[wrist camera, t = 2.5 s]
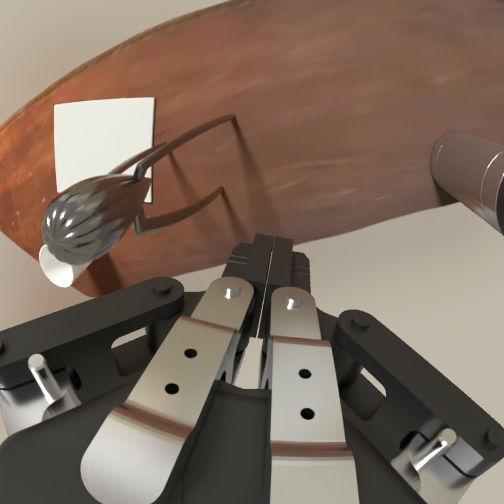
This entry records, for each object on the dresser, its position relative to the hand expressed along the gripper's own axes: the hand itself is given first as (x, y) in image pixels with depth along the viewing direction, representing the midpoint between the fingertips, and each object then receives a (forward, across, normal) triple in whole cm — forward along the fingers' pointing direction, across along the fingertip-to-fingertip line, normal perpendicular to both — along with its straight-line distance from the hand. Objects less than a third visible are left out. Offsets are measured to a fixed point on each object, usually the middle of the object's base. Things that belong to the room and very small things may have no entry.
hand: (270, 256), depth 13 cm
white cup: (+30, +34, +19) cm, 49 cm away
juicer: (+30, +11, 0) cm, 32 cm away
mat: (+30, +30, +2) cm, 42 cm away
